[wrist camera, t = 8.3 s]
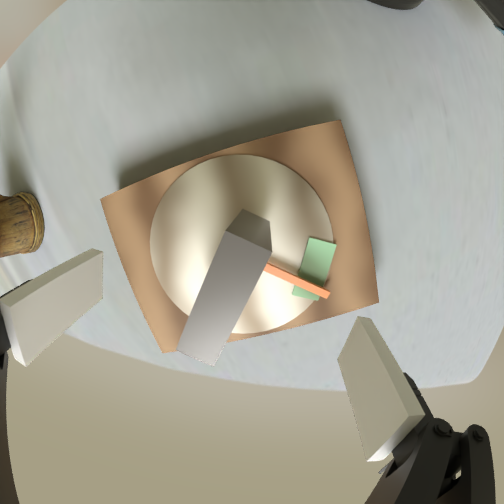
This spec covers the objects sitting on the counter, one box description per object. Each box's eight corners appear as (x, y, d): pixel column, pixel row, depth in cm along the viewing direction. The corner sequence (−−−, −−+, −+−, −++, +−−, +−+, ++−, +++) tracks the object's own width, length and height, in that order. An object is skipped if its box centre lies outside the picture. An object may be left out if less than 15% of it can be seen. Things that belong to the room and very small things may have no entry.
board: (330, 127, 25) (341, 118, 20) (366, 287, 29) (380, 304, 25) (119, 195, 28) (98, 199, 23) (172, 335, 32) (161, 355, 28)
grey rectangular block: (243, 207, 23) (225, 230, 12) (346, 256, 24) (397, 310, 13) (210, 282, 25) (175, 350, 14) (307, 324, 26) (326, 403, 15)
